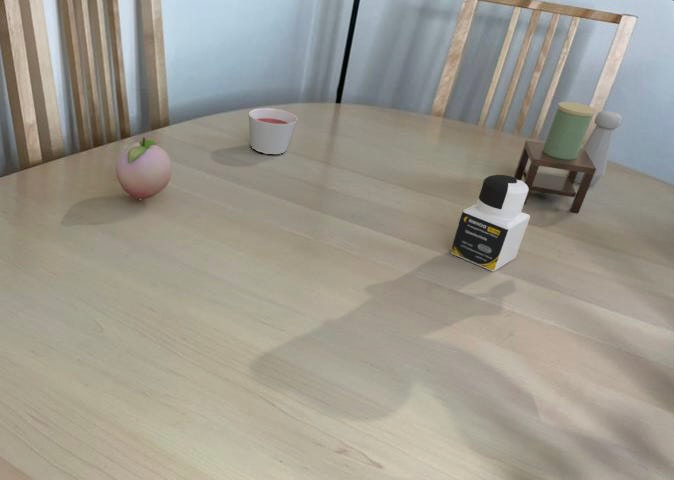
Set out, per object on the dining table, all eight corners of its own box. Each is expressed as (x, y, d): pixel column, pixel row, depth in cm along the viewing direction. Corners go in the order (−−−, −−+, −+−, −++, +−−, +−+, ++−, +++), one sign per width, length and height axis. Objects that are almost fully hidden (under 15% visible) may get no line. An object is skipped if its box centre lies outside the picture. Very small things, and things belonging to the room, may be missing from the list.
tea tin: (574, 150, 129) (591, 104, 125) (580, 162, 125) (598, 114, 120) (539, 145, 130) (555, 99, 126) (544, 156, 126) (561, 109, 121)
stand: (568, 191, 135) (584, 149, 131) (578, 213, 127) (596, 168, 123) (511, 182, 137) (525, 140, 132) (518, 203, 129) (533, 158, 124)
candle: (269, 138, 146) (273, 105, 142) (301, 153, 140) (307, 119, 137) (235, 145, 141) (238, 112, 137) (267, 161, 135) (272, 126, 132)
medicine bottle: (448, 253, 110) (472, 176, 103) (472, 240, 114) (496, 166, 108) (493, 273, 106) (520, 194, 99) (515, 259, 110) (543, 182, 104)
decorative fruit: (163, 216, 113) (166, 152, 107) (110, 208, 113) (111, 144, 108) (174, 192, 120) (178, 131, 115) (125, 185, 121) (126, 124, 115)
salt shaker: (570, 184, 139) (596, 114, 131) (565, 173, 143) (590, 105, 136) (603, 189, 138) (631, 119, 130) (596, 178, 142) (624, 110, 135)
